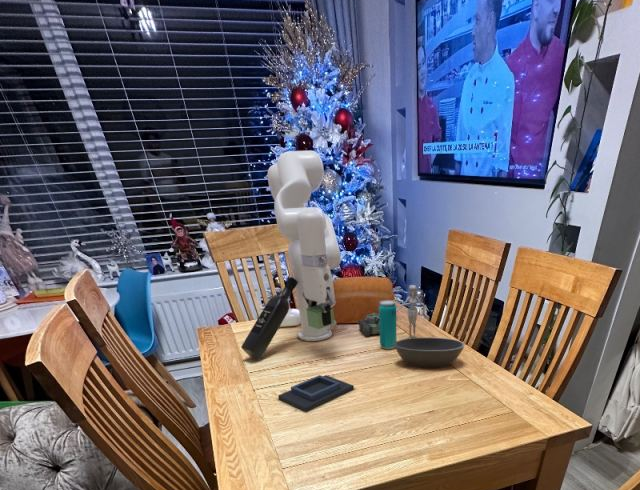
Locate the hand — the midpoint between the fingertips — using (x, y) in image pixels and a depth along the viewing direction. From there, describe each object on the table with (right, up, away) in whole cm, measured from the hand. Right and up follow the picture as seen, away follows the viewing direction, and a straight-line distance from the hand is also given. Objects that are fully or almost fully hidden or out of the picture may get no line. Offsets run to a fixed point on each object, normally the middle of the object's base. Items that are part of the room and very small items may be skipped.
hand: (321, 322), depth 140 cm
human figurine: (+31, +1, +17) cm, 35 cm away
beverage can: (+22, -5, +11) cm, 25 cm away
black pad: (+1, -28, -17) cm, 33 cm away
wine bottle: (-24, -10, +3) cm, 26 cm away
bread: (+12, +16, +37) cm, 42 cm away
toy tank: (+17, +6, +24) cm, 30 cm away
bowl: (+35, -14, -2) cm, 38 cm away
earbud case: (-19, +13, +34) cm, 41 cm away
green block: (0, -1, +1) cm, 1 cm away
